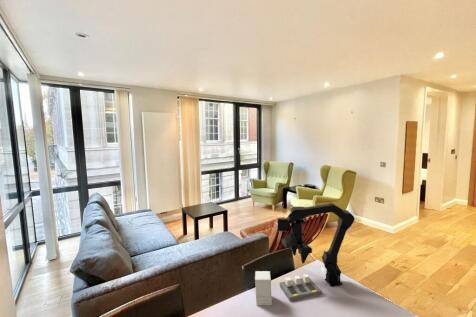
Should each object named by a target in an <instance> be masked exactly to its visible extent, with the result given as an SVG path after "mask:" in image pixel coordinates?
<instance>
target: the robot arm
mask: <svg viewBox="0 0 476 317" xmlns="http://www.w3.org/2000/svg"><path fill="white" fill-rule="evenodd" d="M328 213H329V214H330V213H332V214H334V215H335V216H337V217H338V218H337V227H336V229H335V230H336V231H335V233H334V235H333V239H332V240H331V244H330V246H329V248H328V250H327V251H326V250H324V251H323V254H322V255H321V260H322V264H323V265H324V267H325V270H326V272H325V278H324V281H325V282H326V283H327V284H329V286H331V287H337V286H342V285H343V282H342V281H341V275H342V270H341V268H340V266H339V265H338V255H339V252H340V250H341V249H340V248H341V247H342V245H343V241H344V239H345V237H346V236H345V235H346V233H347V231H348V230H349V229H350V228H351V227H352V226H353V224H354V222H355V217H354V216H355V215H353V214H352V213H351V212H350V211H349V210H347V209H342V208H341V207H339V206H338V205H336V204H335V203H334V202H330V203H324V204H320V205H313V206H293V207H291V209H290V213H289V214H288V216H287V218H281V217H278V218H277V232H289V231H290V230H291V231H290V232H289V234H288V235H286V236H285V237H284V238H282V239H281V242H282V245H283V246H284V247H285V248H286V249H289V248H290V249H291V252H292V254H293V257H294V256H296V254H297V253H298V254H299V255H300V260H301V264H305V263H306V260H307V259H308V256H309V255H310V254H312V253H313V248H312V247H311V246H309V244H305V241H306V240H304V236H305V233H304V230H303V228H304V227H303V224H307V222H306V219H305V218H307V217H309V216H316V215H323V214H328Z"/></svg>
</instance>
